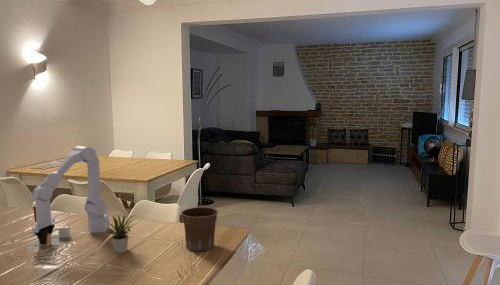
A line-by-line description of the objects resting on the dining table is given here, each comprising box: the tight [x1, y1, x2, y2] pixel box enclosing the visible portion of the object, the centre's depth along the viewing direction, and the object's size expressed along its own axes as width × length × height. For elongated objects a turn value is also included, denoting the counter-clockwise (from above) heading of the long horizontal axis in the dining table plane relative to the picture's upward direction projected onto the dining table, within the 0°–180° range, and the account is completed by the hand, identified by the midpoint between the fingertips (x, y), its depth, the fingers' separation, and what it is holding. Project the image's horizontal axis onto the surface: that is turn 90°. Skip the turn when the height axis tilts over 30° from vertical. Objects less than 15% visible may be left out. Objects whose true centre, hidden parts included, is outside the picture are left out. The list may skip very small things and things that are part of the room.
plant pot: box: [180, 206, 219, 252], centre depth 171 cm, size 16×16×16 cm
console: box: [24, 233, 76, 250], centre depth 175 cm, size 14×18×1 cm
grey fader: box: [57, 225, 71, 238], centre depth 180 cm, size 4×3×5 cm
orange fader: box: [39, 233, 52, 246], centre depth 170 cm, size 4×3×5 cm
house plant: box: [103, 213, 136, 254], centre depth 167 cm, size 14×14×16 cm
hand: (45, 243), depth 170 cm, fingers closed on orange fader, 3 cm apart
